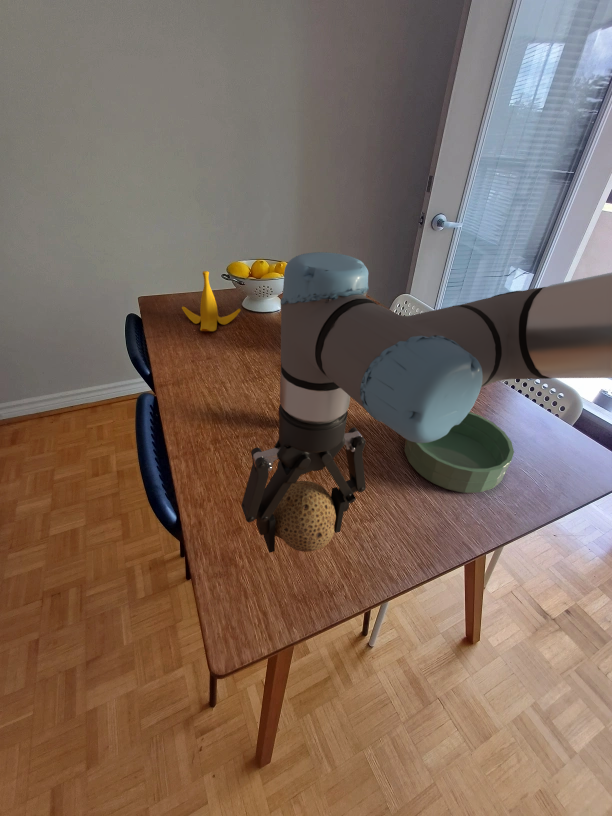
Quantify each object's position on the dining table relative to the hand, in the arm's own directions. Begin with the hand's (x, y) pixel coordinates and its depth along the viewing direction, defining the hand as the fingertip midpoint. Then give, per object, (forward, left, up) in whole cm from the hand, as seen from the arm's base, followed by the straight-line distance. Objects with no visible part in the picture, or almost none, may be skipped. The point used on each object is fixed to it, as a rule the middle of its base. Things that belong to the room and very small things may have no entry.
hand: (302, 534), depth 56 cm
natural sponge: (0, 0, -2) cm, 2 cm away
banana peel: (+87, -2, -7) cm, 87 cm away
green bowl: (+12, -38, -7) cm, 40 cm away
